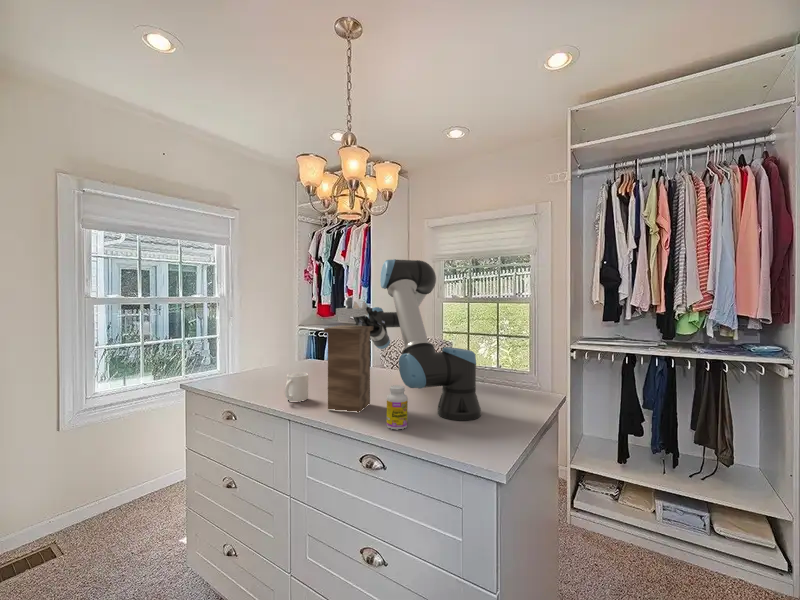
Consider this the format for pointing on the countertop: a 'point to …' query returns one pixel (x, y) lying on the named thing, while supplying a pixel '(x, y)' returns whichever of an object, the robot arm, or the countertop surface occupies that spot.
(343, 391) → the post
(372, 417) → the countertop surface
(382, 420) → the countertop surface
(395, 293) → the robot arm
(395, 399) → the supplement bottle
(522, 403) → the countertop surface
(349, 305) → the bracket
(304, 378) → the mug
